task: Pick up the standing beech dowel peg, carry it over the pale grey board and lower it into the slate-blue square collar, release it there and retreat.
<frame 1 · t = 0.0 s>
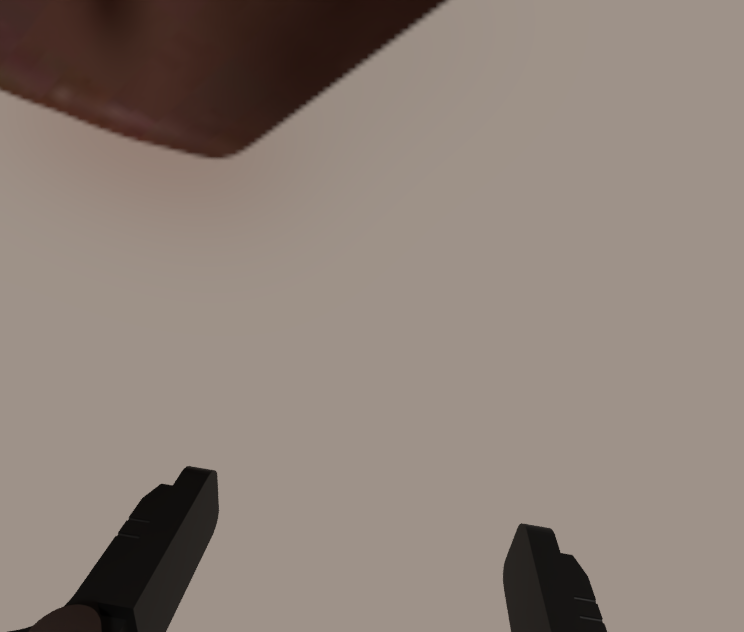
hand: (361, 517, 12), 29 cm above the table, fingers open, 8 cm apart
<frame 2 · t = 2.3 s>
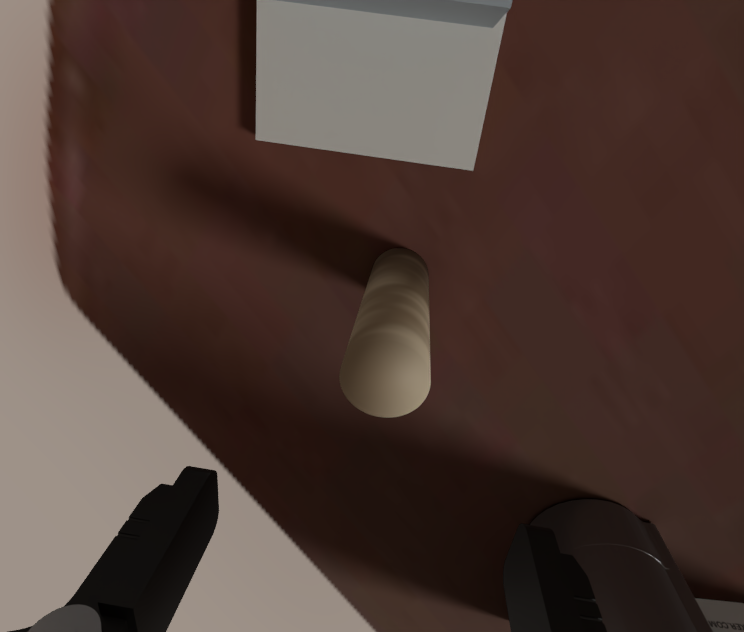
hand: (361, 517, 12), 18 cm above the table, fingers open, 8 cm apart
peg: (399, 275, 28), on the table
cake mix box: (643, 613, 40), on the table
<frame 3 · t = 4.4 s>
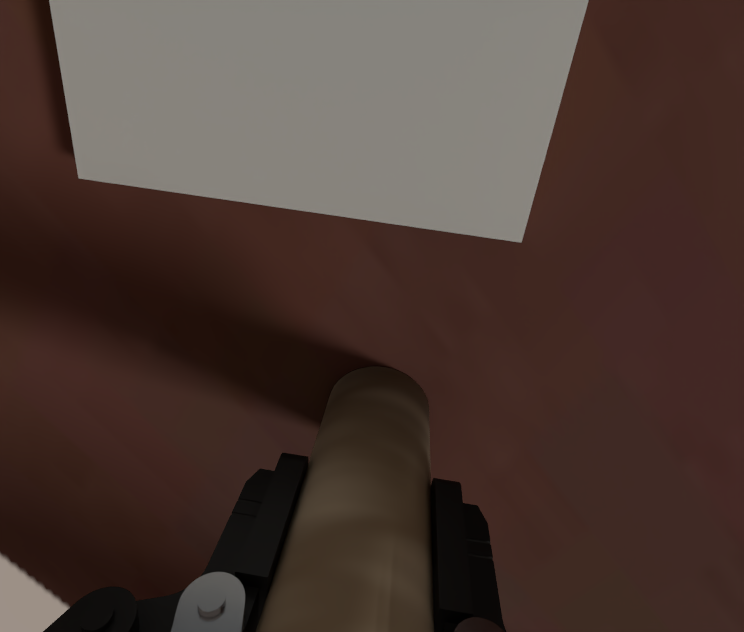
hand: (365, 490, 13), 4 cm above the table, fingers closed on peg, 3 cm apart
peg: (378, 409, 16), on the table, touching gripper
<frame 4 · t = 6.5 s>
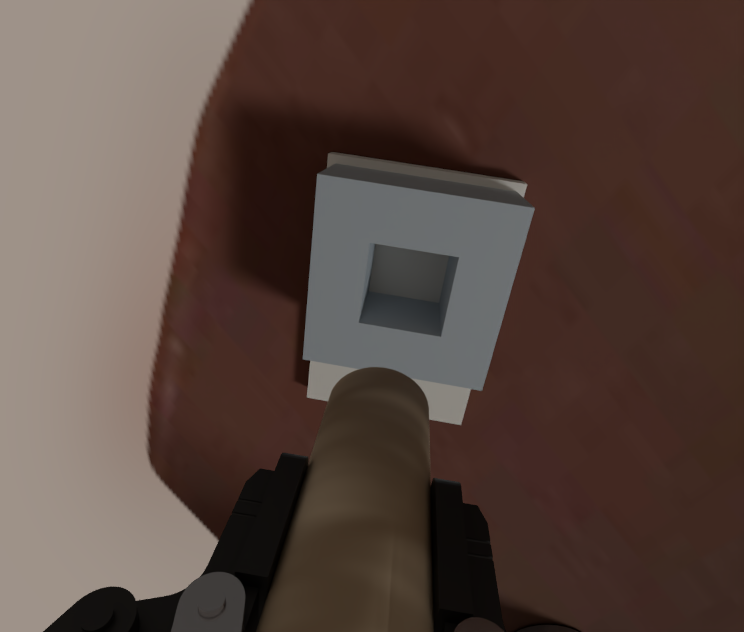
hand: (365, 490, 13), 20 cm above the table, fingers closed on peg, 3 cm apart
peg: (378, 410, 16), point 16 cm above the table, touching gripper
socket: (403, 298, 32), on the table
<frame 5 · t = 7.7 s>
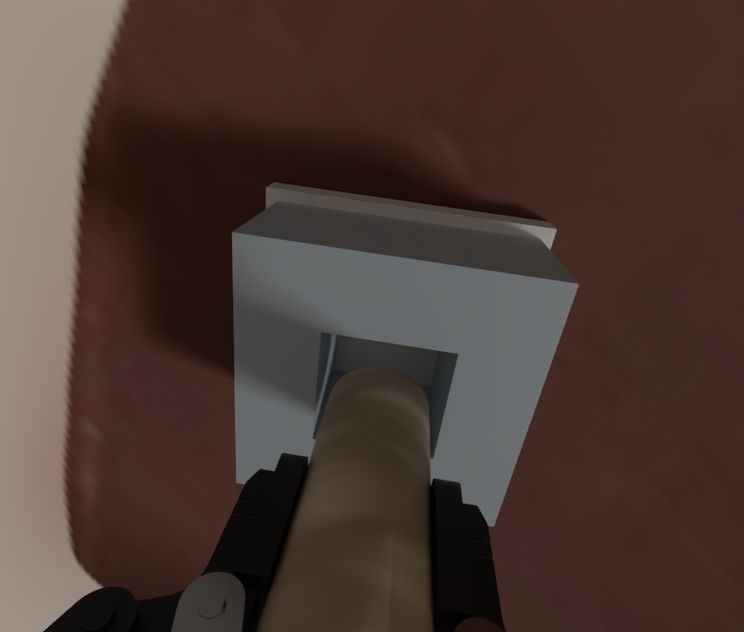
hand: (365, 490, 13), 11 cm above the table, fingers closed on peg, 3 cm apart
peg: (378, 409, 16), point 7 cm above the table, touching gripper
socket: (383, 374, 23), on the table
when the fingers open (7 cm above the table, at t = 8.7 s): peg drops 2 cm, resting on socket.
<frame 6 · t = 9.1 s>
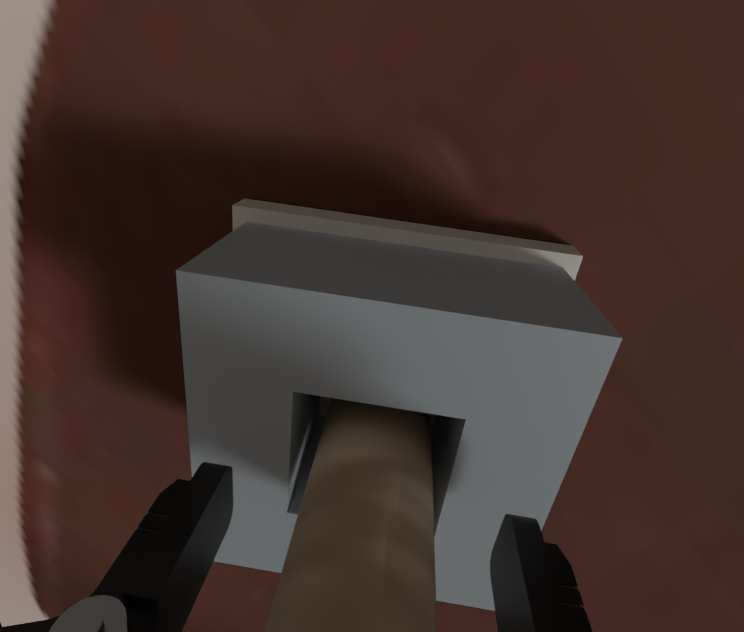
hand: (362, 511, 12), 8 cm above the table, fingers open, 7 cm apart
peg: (383, 379, 18), point 1 cm above the table, touching socket
socket: (375, 417, 20), on the table
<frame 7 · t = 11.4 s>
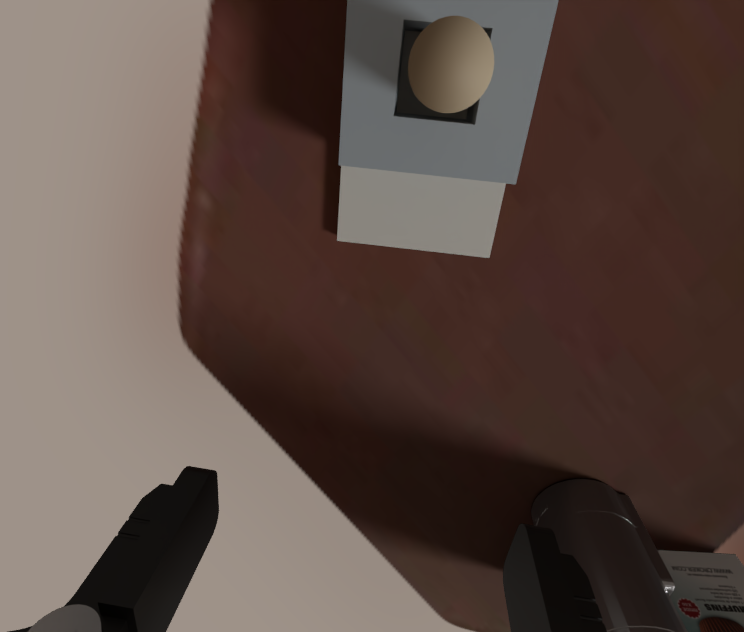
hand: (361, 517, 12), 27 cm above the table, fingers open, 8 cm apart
peg: (437, 77, 30), point 1 cm above the table, touching socket
socket: (429, 124, 32), on the table
cake mix box: (623, 564, 51), on the table
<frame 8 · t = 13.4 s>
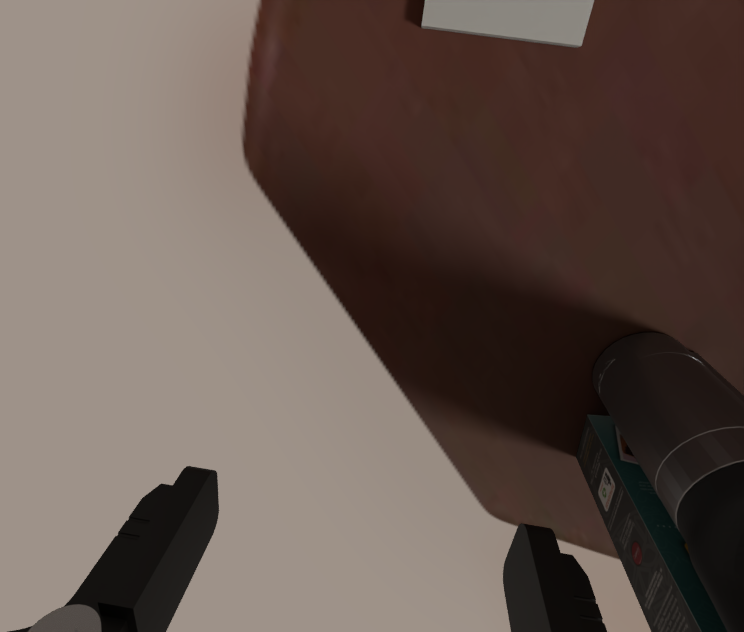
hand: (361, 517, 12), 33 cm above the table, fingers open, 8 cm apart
cake mix box: (684, 442, 49), on the table
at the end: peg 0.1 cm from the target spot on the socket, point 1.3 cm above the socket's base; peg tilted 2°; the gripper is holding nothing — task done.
